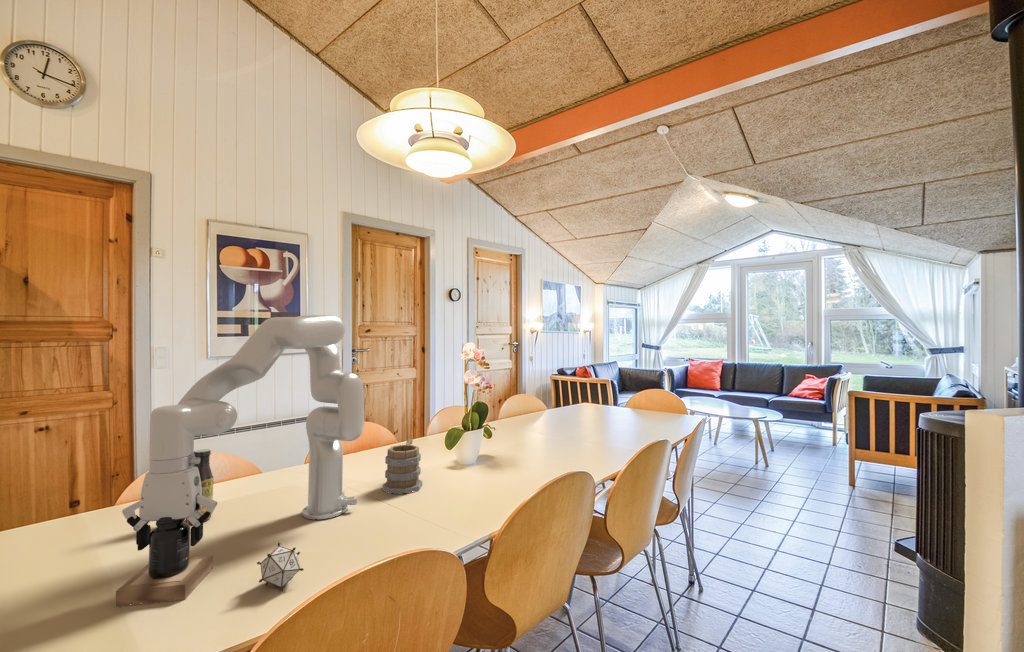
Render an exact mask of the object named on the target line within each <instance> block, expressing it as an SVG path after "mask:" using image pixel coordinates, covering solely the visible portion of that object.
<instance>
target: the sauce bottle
mask: <svg viewBox="0 0 1024 652" xmlns="http://www.w3.org/2000/svg"><path fill="white" fill-rule="evenodd" d="M211 452H212V451H211V449H210V448H209V449H208V448H206V449H205V448H204V449H203V448H202V449H197V450H194V454H195V457H196V458H199V457H200V459H201V460H200V463H199V464H195V465H194V466H193V467H198V470H199V474H200V479H201V486H202V496H204V497H207V498H209V499H212V500H214V499H213V495H214V479H215V478H214V476H213V472H212V469H211V465H210V459H211V457H210V456H211V454H212V453H211ZM206 509H207V508H206V507H205V506H203V505H202V508H201V509H200V510H199V511H200V512H201V513H202V514H204V513H205V511H206ZM211 518H212V514H211V515H210V516H209V517H208V518H207V519H206V520H205V521H204V522H207V521H209V520H210V519H211ZM184 522H186V523H188V524H189V525H193V524H192V523H191V522H190V521H189V520H188V519H187V518H186V519H185V520H184ZM204 522H203V523H204Z"/></svg>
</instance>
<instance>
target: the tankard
mask: <svg viewBox="0 0 1024 652" xmlns="http://www.w3.org/2000/svg"><path fill="white" fill-rule="evenodd" d="M413 440H414V439H412V437H407V440H406V443H405V444H402V445H401V444H399V445H393V446H390V447H389V448H388V449H387V451H386V452H387V455H386V456H385V457H384V458H385V459H384V460H385V465H386V470H384V473H385V474H384V478H386V482H385V483H384V484H383V485H382V490H383V489H384V490H385V491H384V490H383V491H384V492H386V491H387V492H386V493H388V492H389V493H388V494H390V493H408V494H410V493H409V492H412V491H416V490H419V491H420V490H421V488H422V486H423V480H421V479H419V478H420V477H419V476H420V475H421V472H422V471H421V468H422V467H420V462H421V458H422V455H421V453H420V447H419V446H417V445H414V444H413ZM420 487H421V488H420ZM416 492H417V491H416ZM412 493H413V492H412Z"/></svg>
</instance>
